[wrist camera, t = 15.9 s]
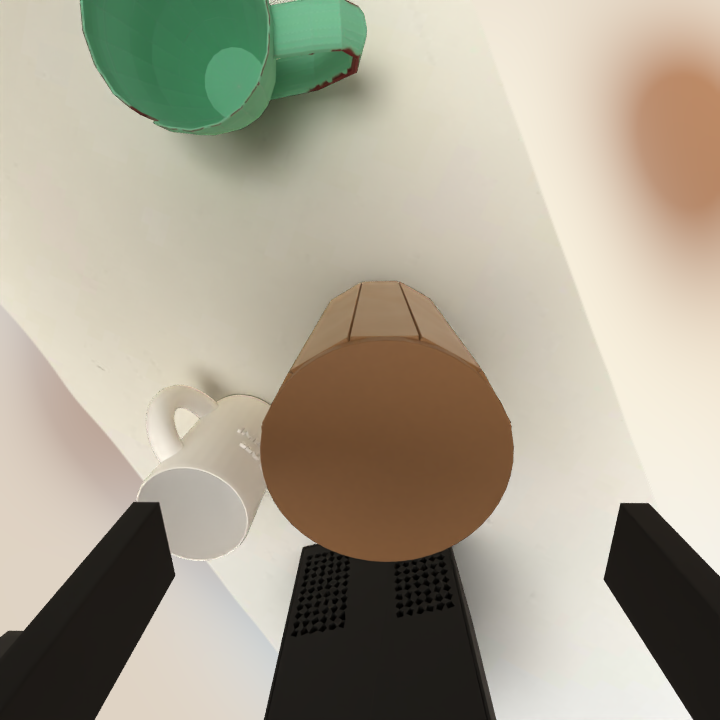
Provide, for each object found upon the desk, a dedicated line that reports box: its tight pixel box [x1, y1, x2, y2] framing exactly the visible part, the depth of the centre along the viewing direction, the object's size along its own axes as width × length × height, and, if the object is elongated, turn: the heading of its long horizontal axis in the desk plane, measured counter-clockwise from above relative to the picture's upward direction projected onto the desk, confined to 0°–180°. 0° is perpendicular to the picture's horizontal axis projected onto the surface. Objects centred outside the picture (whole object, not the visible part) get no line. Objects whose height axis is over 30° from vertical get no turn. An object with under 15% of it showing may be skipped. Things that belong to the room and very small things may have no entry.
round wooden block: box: [260, 281, 514, 562], centre depth 24 cm, size 10×10×16 cm
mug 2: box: [136, 385, 270, 561], centre depth 33 cm, size 8×12×12 cm
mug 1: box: [80, 0, 367, 135], centre depth 25 cm, size 15×10×10 cm
